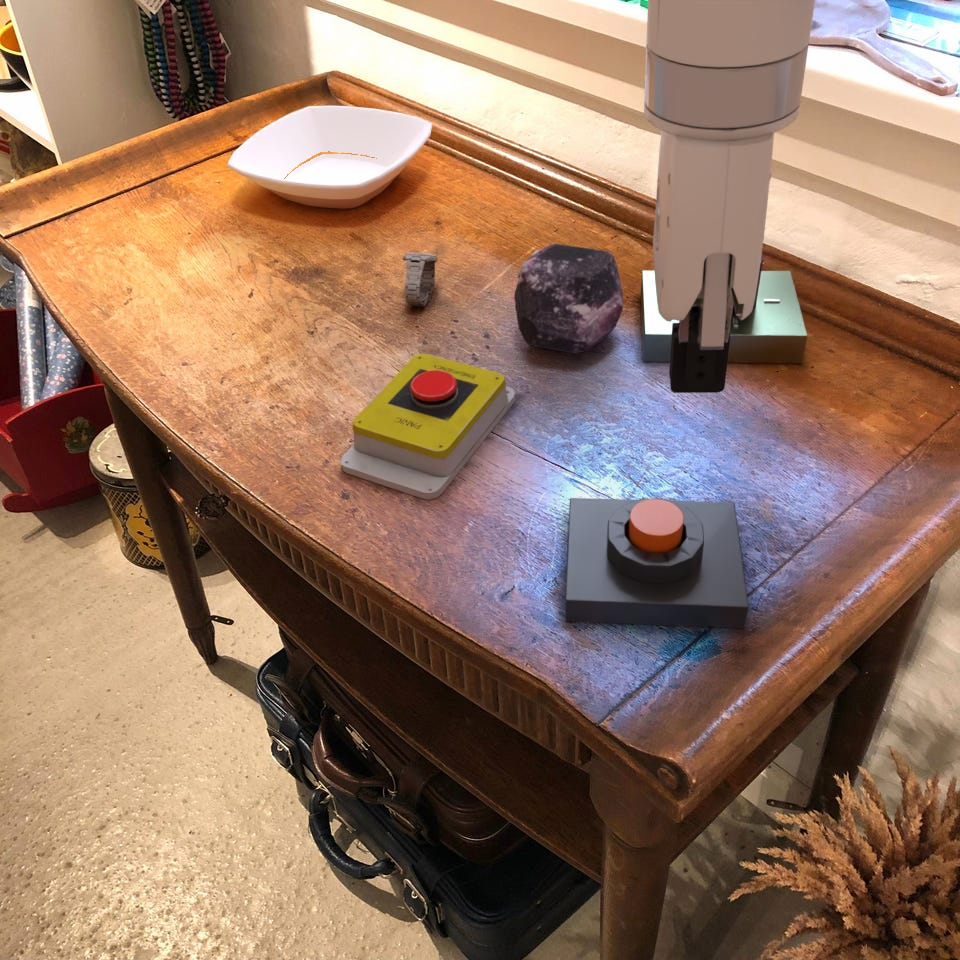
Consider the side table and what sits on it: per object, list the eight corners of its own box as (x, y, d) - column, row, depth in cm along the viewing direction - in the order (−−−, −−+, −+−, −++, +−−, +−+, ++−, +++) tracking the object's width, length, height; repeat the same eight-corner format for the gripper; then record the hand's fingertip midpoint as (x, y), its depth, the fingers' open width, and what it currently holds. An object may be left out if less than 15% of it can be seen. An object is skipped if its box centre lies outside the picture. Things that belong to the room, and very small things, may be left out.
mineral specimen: (584, 277, 96) (607, 207, 87) (624, 363, 92) (653, 299, 83) (492, 297, 93) (506, 227, 84) (529, 386, 89) (547, 323, 80)
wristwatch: (444, 283, 100) (440, 239, 97) (430, 316, 95) (425, 271, 92) (411, 281, 101) (406, 238, 97) (395, 314, 96) (389, 269, 93)
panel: (785, 297, 94) (790, 269, 92) (802, 363, 86) (808, 334, 84) (640, 297, 96) (642, 268, 94) (643, 361, 88) (645, 332, 86)
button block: (731, 523, 72) (737, 484, 69) (744, 628, 65) (752, 589, 62) (569, 518, 74) (570, 479, 71) (565, 621, 66) (565, 582, 63)
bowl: (456, 159, 122) (453, 117, 118) (371, 239, 108) (365, 195, 104) (310, 138, 129) (303, 98, 126) (213, 210, 115) (202, 168, 112)
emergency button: (518, 354, 82) (429, 460, 73) (519, 395, 85) (434, 502, 76) (424, 330, 86) (328, 428, 76) (428, 370, 89) (336, 469, 79)
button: (680, 517, 68) (682, 499, 67) (683, 554, 65) (685, 536, 64) (628, 515, 68) (629, 497, 67) (629, 552, 66) (630, 534, 64)
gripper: (640, 33, 53) (631, 319, 65) (650, 147, 42) (637, 465, 54) (781, 26, 52) (745, 317, 64) (829, 141, 41) (775, 465, 53)
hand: (696, 384), depth 59 cm, fingers closed
